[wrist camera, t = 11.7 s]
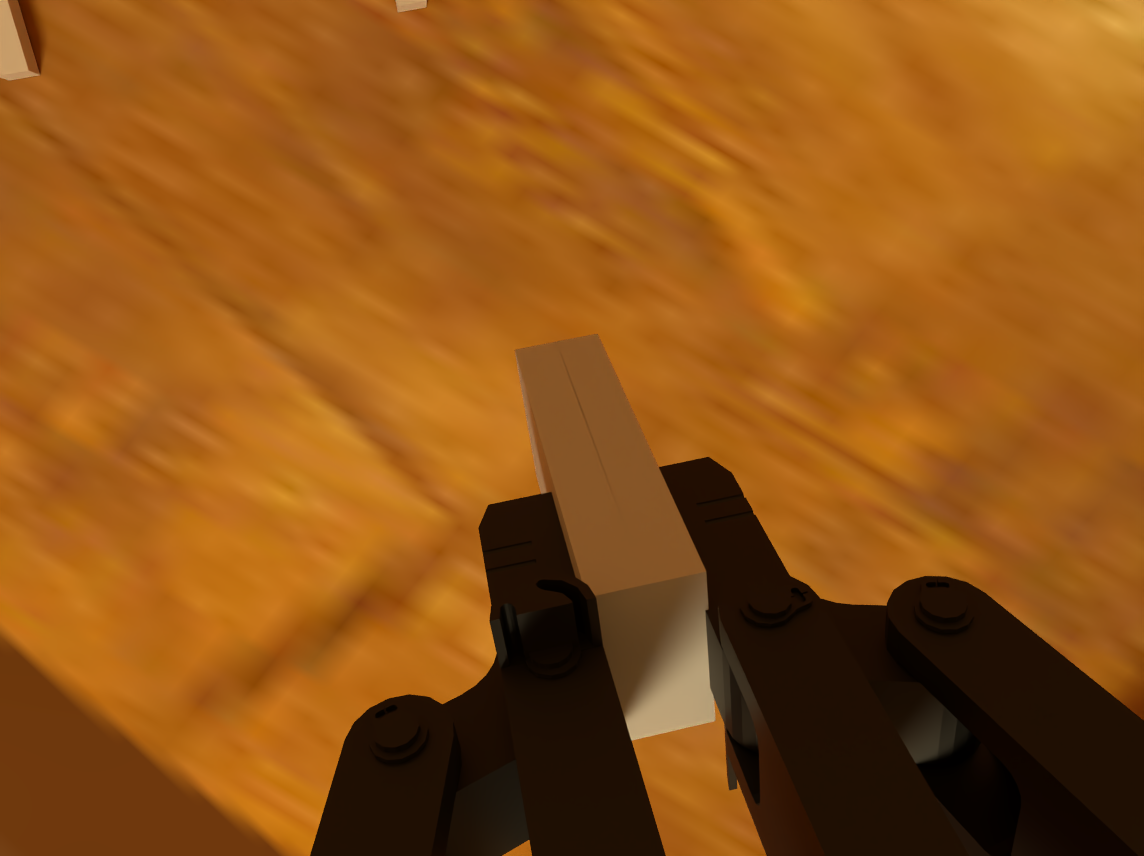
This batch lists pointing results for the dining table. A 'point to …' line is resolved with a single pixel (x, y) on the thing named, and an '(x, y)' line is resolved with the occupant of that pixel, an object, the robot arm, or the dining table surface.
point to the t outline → (10, 54)
